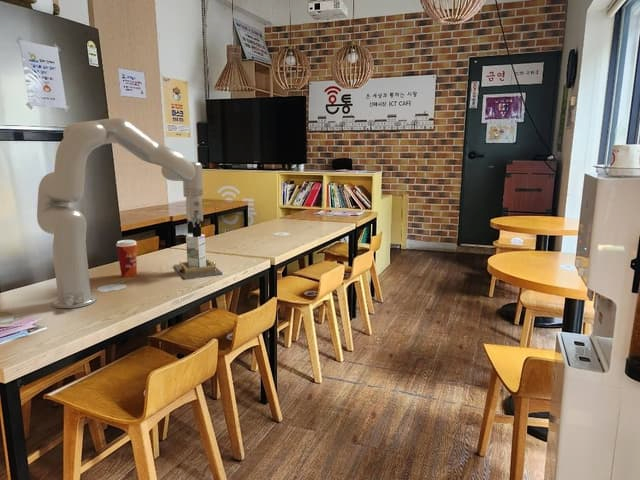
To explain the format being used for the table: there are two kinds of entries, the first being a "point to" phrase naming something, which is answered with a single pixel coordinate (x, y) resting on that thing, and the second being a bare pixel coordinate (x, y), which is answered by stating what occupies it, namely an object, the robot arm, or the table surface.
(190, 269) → the gray gold framed panel
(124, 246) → the paper cup
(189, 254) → the syrup box
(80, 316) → the table surface
